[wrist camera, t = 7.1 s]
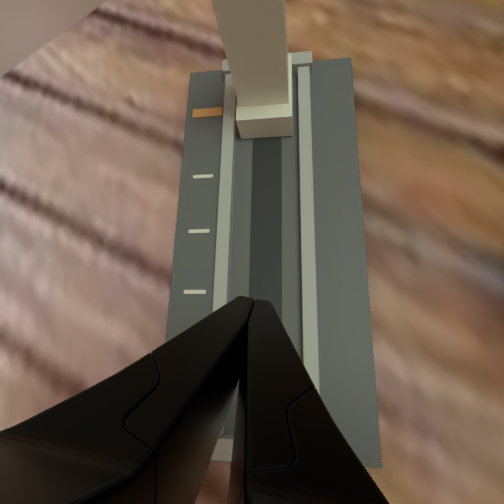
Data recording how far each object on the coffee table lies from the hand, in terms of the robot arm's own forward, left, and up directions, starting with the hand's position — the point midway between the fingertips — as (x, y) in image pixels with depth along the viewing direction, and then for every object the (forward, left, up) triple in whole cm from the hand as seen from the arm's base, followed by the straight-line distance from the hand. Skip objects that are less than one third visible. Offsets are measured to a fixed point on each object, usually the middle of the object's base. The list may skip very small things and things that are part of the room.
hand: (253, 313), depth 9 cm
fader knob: (+9, +13, -12) cm, 20 cm away
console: (+4, +6, -13) cm, 15 cm away
